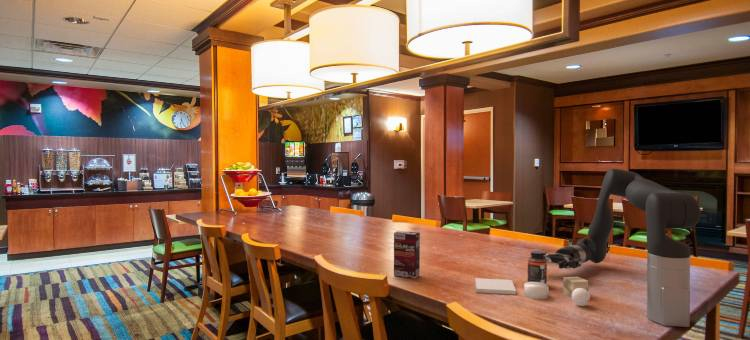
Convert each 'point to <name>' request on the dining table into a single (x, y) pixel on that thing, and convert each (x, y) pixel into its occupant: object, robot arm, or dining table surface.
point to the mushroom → (580, 296)
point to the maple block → (573, 284)
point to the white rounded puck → (536, 290)
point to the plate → (494, 286)
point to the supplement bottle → (537, 267)
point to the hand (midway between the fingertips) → (547, 263)
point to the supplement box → (406, 254)
